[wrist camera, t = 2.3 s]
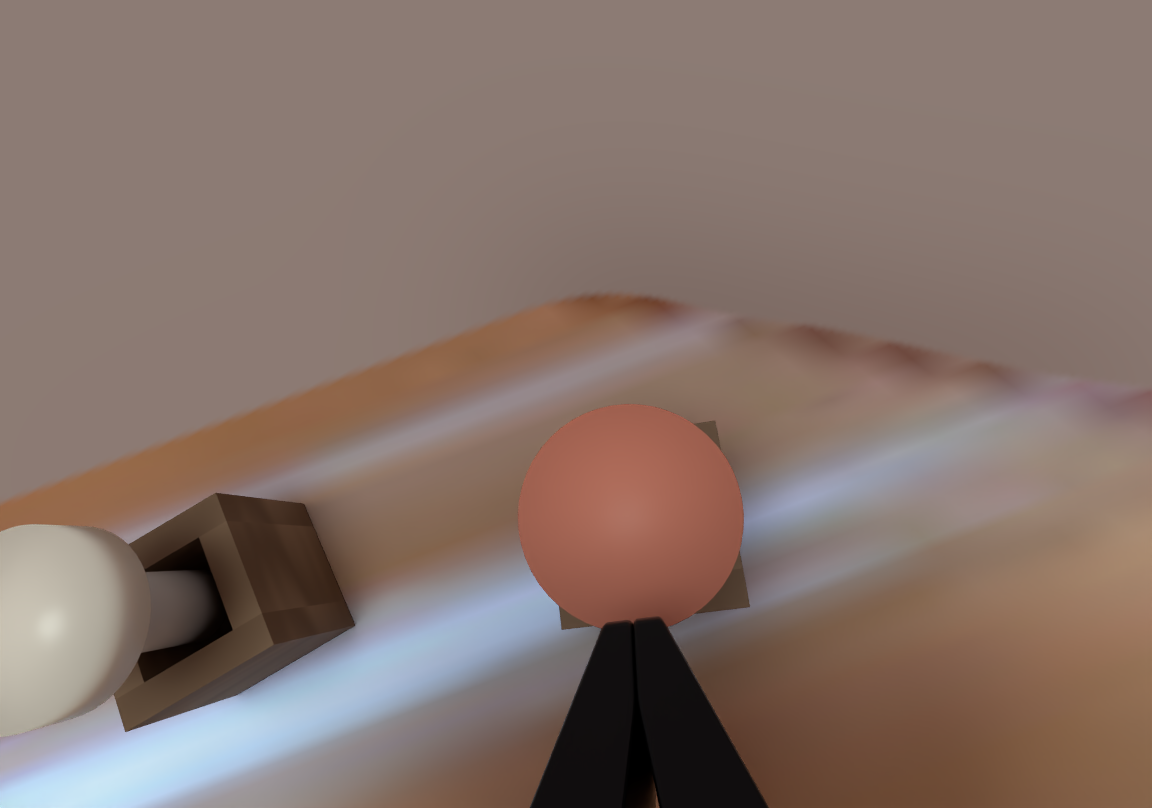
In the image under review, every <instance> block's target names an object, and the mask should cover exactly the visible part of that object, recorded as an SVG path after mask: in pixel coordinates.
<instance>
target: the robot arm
mask: <svg viewBox="0 0 1152 808" xmlns="http://www.w3.org/2000/svg"><path fill="white" fill-rule="evenodd" d="M655 788H656V793H657V797H658V802H659V807H660V808H769V807H768V805H767V803H766V802H765V800H764V798H763V796H762V795H761V793H760V791H759V789H758V787H757V786H756V784H755V782H754V780H753V779H752V777H751V775H750V773H749V771H748V770H747V768H746V766H745V764H744V763H743V761H742V759H741V757H740V755H739V754H738V752H737V750H736V748H735V747H734V745H733V743H732V741H731V739H730V738H729V736H728V734H727V732H726V731H725V729H724V727H723V725H722V723H721V722H720V720H719V718H718V716H717V715H716V713H715V711H714V709H713V707H712V706H711V704H710V702H709V700H708V699H707V697H706V695H705V693H704V691H703V690H702V688H701V686H700V684H699V683H698V681H697V679H696V677H695V675H694V674H693V672H692V670H691V668H690V667H689V665H688V663H687V661H686V659H685V658H684V656H683V654H682V652H681V651H680V649H679V647H678V645H677V643H676V642H675V640H674V638H673V636H672V635H671V633H670V631H669V629H668V627H667V626H666V624H665V622H664V621H663V619H662V618H661V617H659V616H653V617H645V618H638V619H636V620H635V621H634V623H632V621H630V620H620V621H612V622H607V623H605V624H604V625H603V627H602V629H601V631H600V634H599V636H598V639H597V641H596V644H595V646H594V649H593V651H592V654H591V656H590V659H589V661H588V664H587V666H586V669H585V671H584V674H583V676H582V679H581V681H580V684H579V686H578V689H577V691H576V694H575V696H574V699H573V701H572V704H571V706H570V709H569V711H568V714H567V716H566V719H565V721H564V724H563V726H562V729H561V731H560V734H559V736H558V739H557V741H556V744H555V746H554V749H553V751H552V754H551V756H550V759H549V761H548V764H547V766H546V769H545V771H544V774H543V776H542V779H541V781H540V784H539V786H538V788H537V791H536V793H535V796H534V798H533V801H532V803H531V806H530V808H656V795H655Z"/></svg>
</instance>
